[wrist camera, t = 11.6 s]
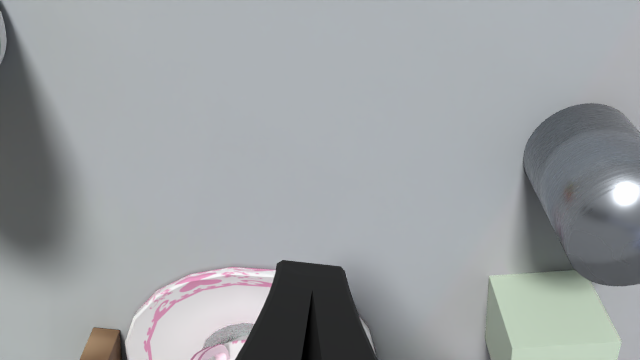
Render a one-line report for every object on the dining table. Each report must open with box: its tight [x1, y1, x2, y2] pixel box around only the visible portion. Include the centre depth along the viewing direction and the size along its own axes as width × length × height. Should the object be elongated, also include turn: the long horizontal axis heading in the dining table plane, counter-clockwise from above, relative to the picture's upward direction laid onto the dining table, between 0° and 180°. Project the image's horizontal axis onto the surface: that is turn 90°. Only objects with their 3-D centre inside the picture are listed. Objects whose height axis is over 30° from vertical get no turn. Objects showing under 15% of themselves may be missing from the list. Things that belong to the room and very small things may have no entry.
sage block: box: [485, 270, 622, 360], centre depth 25 cm, size 4×4×4 cm
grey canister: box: [523, 103, 640, 286], centre depth 20 cm, size 4×4×5 cm
